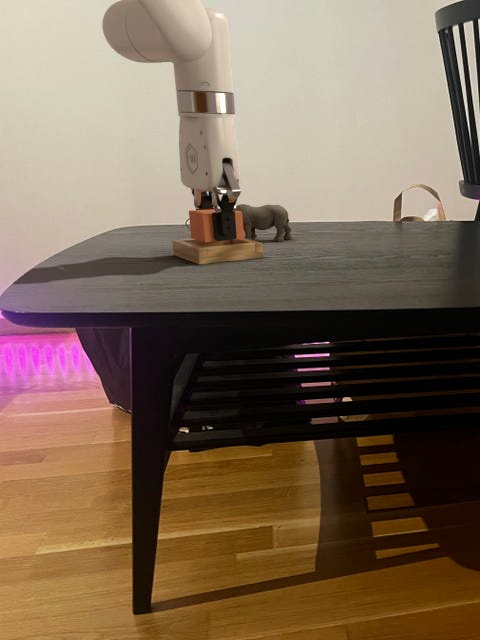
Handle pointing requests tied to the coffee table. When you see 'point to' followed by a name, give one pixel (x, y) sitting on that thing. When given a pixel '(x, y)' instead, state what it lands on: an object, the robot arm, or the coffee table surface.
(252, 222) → the rhino figurine
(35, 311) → the coffee table surface
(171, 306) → the coffee table surface
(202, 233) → the block
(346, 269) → the coffee table surface
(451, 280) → the coffee table surface
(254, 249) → the shallow wooden tray
